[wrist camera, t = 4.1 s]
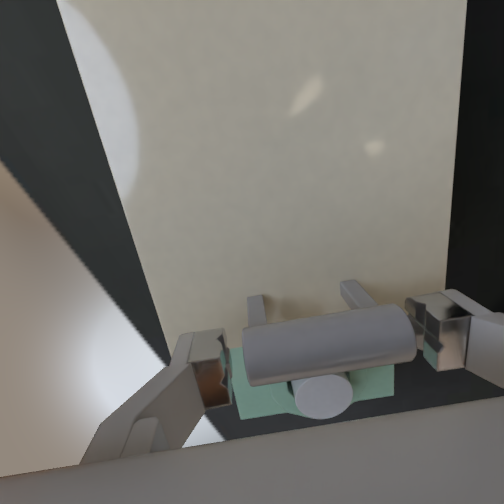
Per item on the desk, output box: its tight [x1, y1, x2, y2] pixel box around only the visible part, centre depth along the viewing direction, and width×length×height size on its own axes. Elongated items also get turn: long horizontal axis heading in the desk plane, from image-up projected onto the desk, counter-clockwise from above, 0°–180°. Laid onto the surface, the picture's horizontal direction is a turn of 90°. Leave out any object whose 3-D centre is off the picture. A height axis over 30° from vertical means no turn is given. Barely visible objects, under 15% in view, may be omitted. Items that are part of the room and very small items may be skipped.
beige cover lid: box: [56, 0, 467, 387], centre depth 9 cm, size 15×13×5 cm
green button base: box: [230, 347, 394, 420], centre depth 21 cm, size 12×9×5 cm
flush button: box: [291, 372, 353, 419], centre depth 18 cm, size 4×4×2 cm
